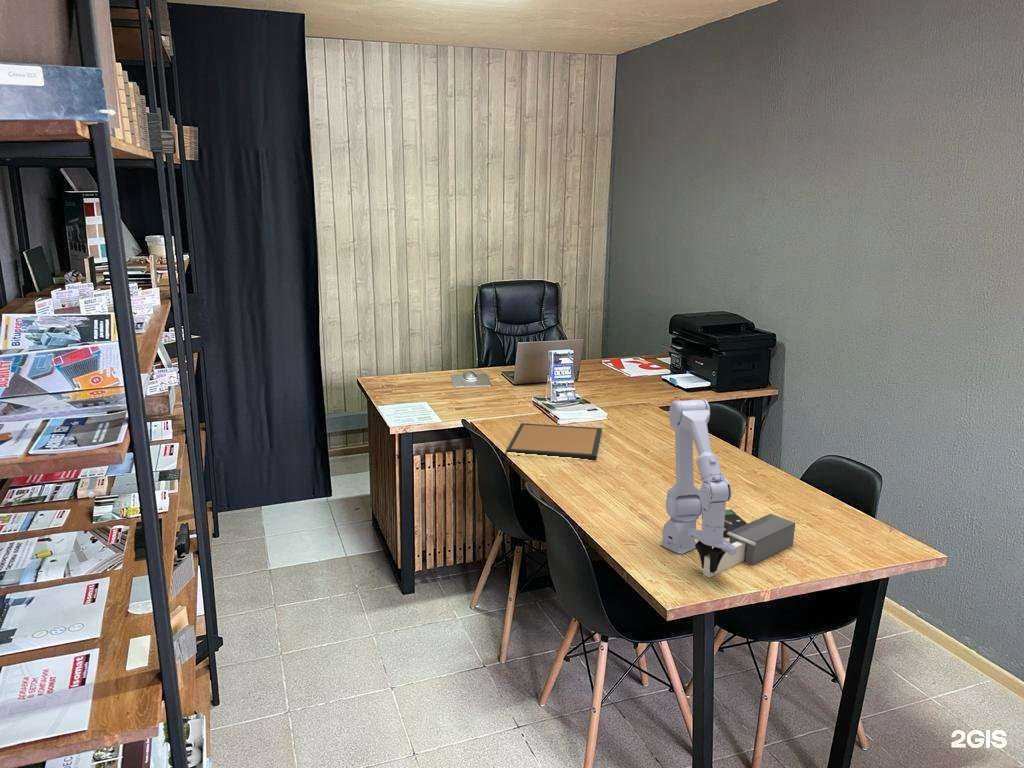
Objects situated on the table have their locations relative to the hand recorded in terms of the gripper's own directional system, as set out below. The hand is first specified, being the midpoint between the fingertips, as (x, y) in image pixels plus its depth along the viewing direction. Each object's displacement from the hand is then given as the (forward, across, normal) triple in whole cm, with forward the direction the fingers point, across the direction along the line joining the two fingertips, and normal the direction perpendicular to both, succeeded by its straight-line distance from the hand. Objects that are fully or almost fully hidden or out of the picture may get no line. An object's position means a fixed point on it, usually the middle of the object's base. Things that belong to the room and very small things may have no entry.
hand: (709, 569), depth 203 cm
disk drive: (+2, +16, -30) cm, 33 cm away
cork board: (+2, +107, -40) cm, 114 cm away
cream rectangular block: (+2, 0, -7) cm, 7 cm away
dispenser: (+2, 0, -24) cm, 24 cm away
